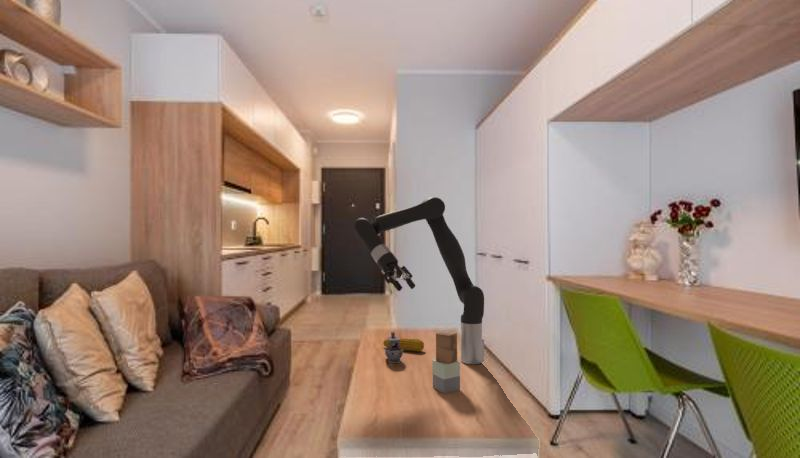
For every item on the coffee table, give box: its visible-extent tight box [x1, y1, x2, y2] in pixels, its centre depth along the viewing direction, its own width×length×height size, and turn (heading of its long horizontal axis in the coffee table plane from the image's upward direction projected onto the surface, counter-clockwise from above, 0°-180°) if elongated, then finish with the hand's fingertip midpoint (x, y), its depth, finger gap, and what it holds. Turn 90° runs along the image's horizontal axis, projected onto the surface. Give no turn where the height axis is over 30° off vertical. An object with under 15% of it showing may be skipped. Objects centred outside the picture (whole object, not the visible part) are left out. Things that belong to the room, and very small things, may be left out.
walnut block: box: [435, 330, 458, 364], centre depth 155 cm, size 6×6×10 cm
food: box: [382, 337, 425, 353], centre depth 207 cm, size 21×6×6 cm, turn 66°
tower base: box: [432, 374, 461, 394], centre depth 155 cm, size 7×7×5 cm
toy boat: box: [384, 330, 404, 364], centre depth 187 cm, size 15×8×13 cm, turn 12°
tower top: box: [431, 359, 461, 379], centre depth 155 cm, size 7×7×5 cm
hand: (407, 288), depth 166 cm, fingers open, 8 cm apart
